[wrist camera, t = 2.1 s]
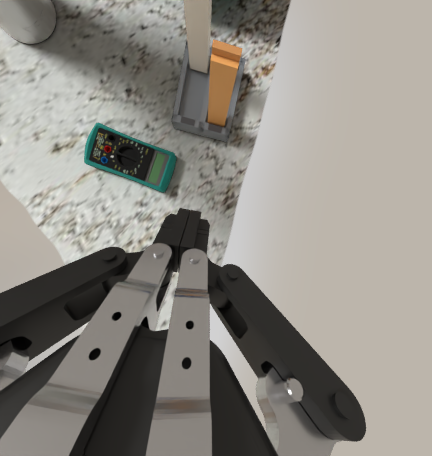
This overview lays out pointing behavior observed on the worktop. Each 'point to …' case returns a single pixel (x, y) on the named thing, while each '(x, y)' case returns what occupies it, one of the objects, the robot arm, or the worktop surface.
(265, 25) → the worktop surface
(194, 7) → the tab ivory
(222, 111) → the tab orange
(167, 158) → the digital multimeter
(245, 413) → the robot arm
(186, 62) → the gray tray
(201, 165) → the worktop surface
